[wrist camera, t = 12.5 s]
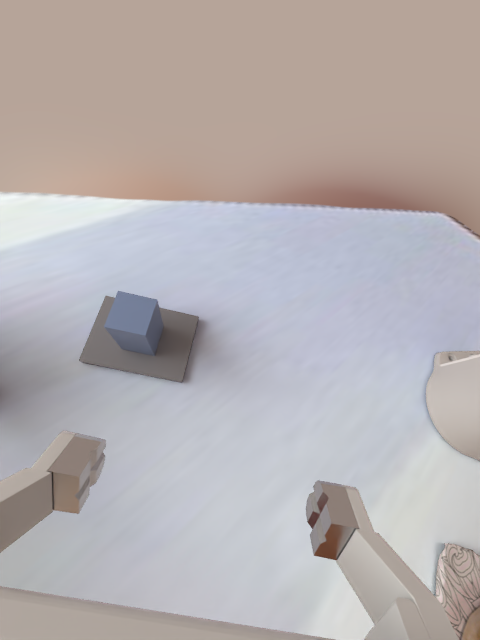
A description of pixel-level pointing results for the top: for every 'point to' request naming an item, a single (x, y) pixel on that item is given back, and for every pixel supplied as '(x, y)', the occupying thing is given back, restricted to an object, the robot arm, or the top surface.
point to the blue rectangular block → (135, 323)
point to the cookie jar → (460, 589)
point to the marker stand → (162, 365)
